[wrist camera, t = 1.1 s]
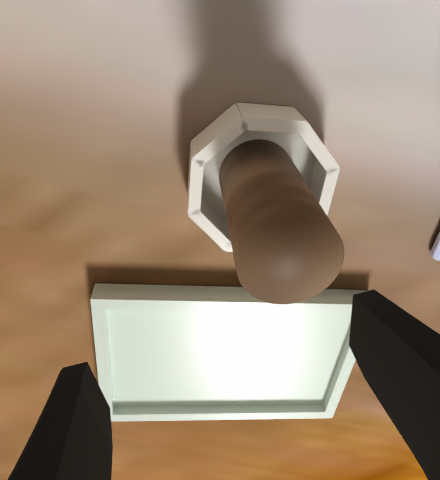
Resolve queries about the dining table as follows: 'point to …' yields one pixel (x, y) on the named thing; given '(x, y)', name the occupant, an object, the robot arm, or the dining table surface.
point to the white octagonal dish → (241, 130)
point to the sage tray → (219, 353)
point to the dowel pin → (276, 226)
